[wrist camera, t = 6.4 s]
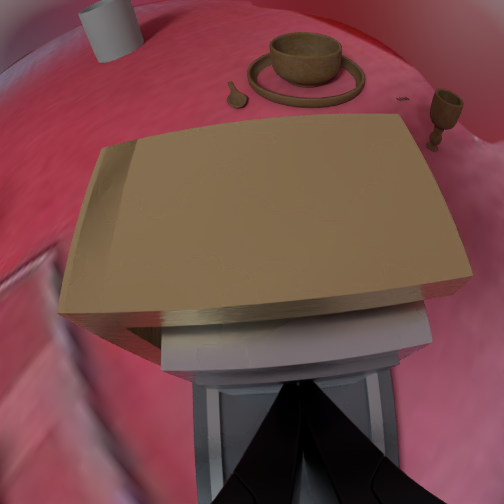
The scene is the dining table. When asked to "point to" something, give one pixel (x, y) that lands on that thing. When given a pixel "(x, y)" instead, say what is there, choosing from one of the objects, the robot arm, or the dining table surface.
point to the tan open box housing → (257, 227)
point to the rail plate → (255, 409)
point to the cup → (111, 29)
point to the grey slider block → (295, 349)
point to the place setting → (325, 68)
